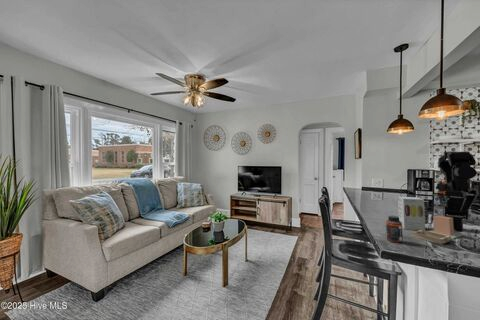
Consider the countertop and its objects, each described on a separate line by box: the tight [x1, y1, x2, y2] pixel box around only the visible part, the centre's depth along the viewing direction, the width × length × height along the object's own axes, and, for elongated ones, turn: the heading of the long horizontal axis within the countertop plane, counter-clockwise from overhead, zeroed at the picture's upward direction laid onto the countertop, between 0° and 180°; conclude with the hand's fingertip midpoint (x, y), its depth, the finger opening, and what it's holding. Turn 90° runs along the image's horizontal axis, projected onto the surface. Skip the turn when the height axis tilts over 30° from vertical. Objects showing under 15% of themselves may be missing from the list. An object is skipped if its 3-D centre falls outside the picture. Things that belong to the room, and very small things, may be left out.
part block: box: [432, 215, 455, 235], centre depth 102 cm, size 4×6×8 cm, turn 25°
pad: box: [428, 229, 463, 240], centre depth 101 cm, size 10×10×1 cm
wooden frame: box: [411, 230, 452, 245], centre depth 96 cm, size 9×11×2 cm
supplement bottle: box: [385, 215, 404, 244], centre depth 94 cm, size 6×6×11 cm
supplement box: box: [397, 196, 426, 231], centre depth 113 cm, size 10×9×17 cm
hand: (462, 210), depth 96 cm, fingers open, 9 cm apart
